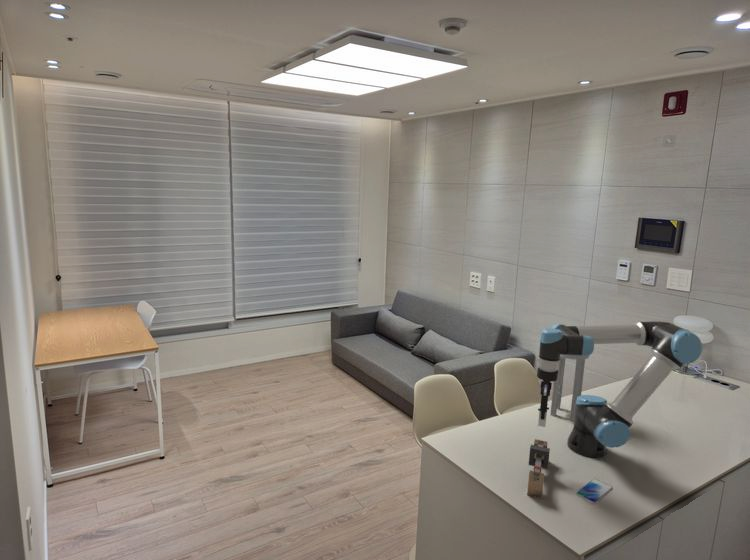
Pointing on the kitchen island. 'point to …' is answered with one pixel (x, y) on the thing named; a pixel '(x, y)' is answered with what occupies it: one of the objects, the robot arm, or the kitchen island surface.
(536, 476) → the sliding collar rod
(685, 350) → the robot arm
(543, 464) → the grey rectangular sleeve
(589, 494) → the smartphone
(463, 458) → the kitchen island surface
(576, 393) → the stool
